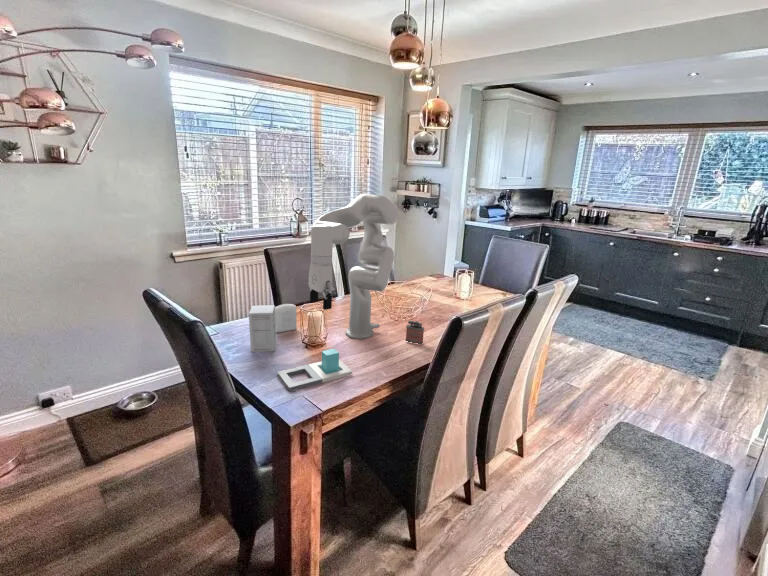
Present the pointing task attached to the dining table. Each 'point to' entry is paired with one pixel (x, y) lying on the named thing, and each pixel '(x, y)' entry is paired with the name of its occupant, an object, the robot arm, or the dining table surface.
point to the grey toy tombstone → (285, 317)
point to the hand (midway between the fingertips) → (320, 305)
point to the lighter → (414, 332)
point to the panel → (311, 375)
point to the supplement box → (262, 328)
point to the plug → (330, 361)
